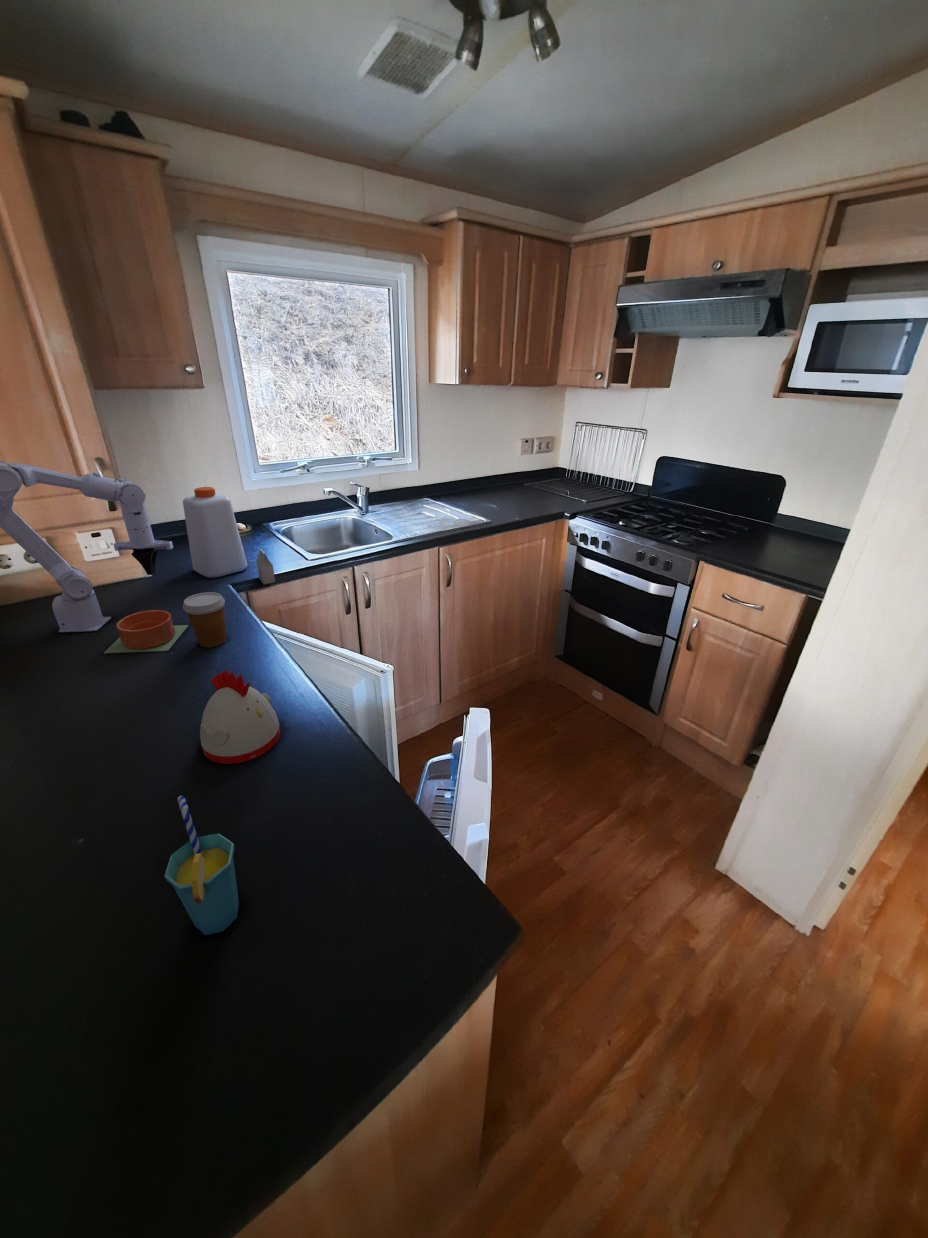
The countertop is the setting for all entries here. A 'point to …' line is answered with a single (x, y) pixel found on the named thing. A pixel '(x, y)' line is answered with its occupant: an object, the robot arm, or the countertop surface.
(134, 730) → the countertop surface
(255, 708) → the kitchen timer
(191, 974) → the countertop surface
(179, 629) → the mat
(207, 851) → the cup
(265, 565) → the beige gable carton
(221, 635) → the disposable coffee cup
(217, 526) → the plastic bottle
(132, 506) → the robot arm
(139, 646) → the bowl
